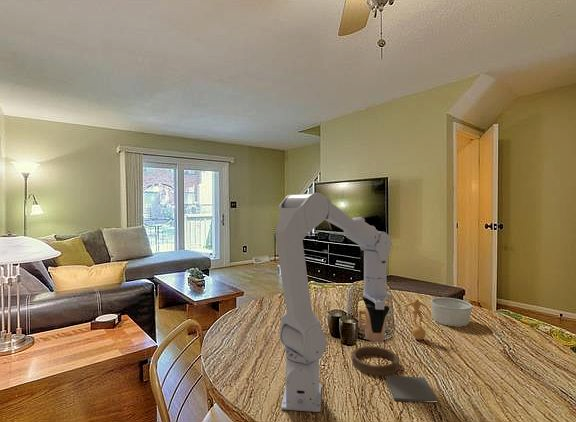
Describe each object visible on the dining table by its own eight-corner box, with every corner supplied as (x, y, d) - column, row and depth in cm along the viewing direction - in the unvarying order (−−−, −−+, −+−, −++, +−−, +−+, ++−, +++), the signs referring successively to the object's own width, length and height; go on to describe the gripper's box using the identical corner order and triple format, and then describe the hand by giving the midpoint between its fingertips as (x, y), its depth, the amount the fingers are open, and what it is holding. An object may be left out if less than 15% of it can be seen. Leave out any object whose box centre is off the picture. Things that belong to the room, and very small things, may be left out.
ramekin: (480, 329, 105) (480, 308, 105) (440, 328, 106) (440, 308, 105) (459, 315, 119) (459, 297, 118) (424, 315, 119) (424, 297, 119)
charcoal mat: (438, 403, 65) (438, 400, 65) (394, 400, 66) (394, 397, 66) (424, 379, 74) (424, 377, 74) (385, 377, 75) (385, 375, 75)
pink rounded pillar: (383, 334, 84) (383, 304, 84) (386, 342, 79) (386, 310, 79) (357, 333, 85) (357, 303, 85) (359, 340, 80) (359, 309, 80)
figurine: (406, 341, 95) (406, 302, 95) (401, 333, 101) (401, 296, 101) (435, 342, 95) (435, 303, 94) (428, 334, 101) (428, 297, 100)
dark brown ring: (403, 376, 75) (403, 368, 75) (354, 373, 77) (354, 365, 77) (392, 354, 87) (392, 347, 87) (350, 352, 88) (350, 345, 88)
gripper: (397, 283, 74) (397, 340, 74) (385, 271, 88) (385, 319, 89) (367, 282, 75) (366, 339, 75) (360, 270, 89) (359, 318, 89)
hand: (375, 328), depth 82 cm, fingers closed on pink rounded pillar, 5 cm apart
